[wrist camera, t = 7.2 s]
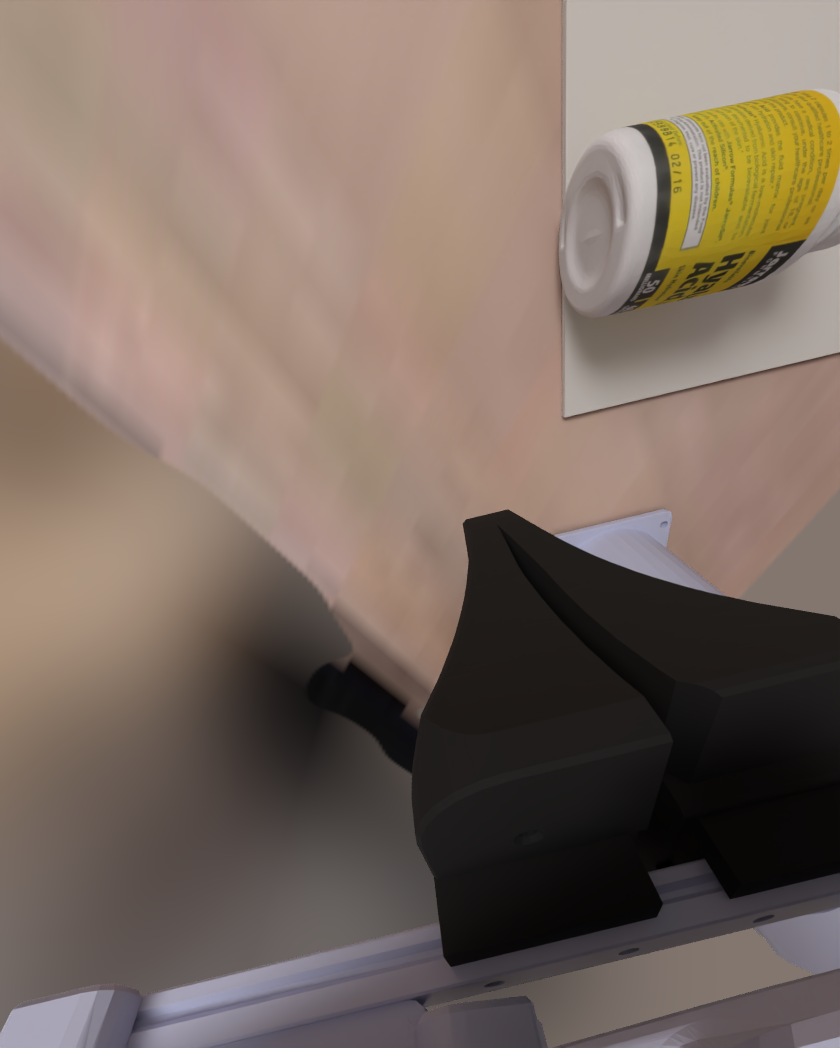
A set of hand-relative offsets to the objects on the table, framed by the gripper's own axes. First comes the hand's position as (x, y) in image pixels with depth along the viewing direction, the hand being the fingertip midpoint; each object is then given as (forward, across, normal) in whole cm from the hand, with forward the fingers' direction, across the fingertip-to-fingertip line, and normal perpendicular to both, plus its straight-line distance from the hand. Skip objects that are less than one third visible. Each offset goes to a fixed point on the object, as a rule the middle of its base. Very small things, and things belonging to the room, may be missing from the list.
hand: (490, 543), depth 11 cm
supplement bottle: (+7, -6, -7) cm, 12 cm away
